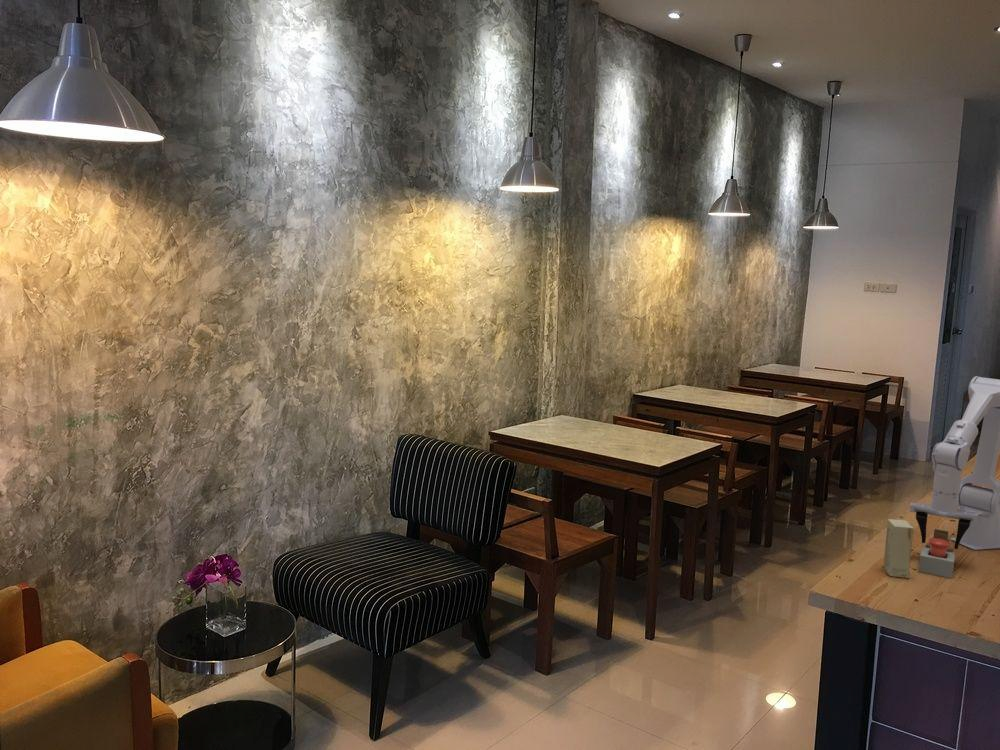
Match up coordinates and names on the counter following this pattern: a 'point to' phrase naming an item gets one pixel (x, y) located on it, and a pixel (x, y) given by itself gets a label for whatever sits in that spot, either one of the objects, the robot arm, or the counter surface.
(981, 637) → the counter surface
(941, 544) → the plunger
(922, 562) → the grey rectangular block
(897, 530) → the skincare box
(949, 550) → the carriage
